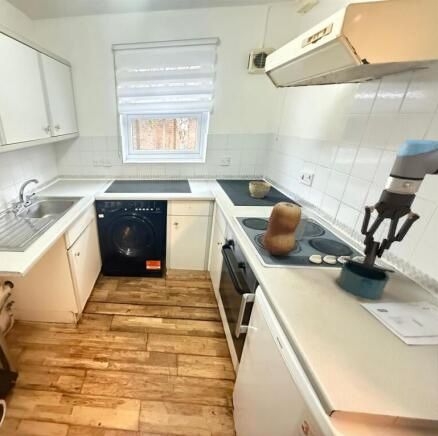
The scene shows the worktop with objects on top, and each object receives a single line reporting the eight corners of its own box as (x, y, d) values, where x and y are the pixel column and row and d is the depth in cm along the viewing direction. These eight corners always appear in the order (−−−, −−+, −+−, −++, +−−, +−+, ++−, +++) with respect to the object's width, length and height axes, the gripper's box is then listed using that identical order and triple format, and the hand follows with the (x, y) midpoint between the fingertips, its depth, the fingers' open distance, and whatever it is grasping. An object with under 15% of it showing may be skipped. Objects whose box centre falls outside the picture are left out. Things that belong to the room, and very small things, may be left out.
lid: (385, 270, 88) (393, 245, 87) (401, 277, 76) (410, 248, 75) (340, 259, 94) (347, 235, 94) (348, 263, 83) (356, 236, 82)
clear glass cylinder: (292, 241, 125) (298, 219, 120) (278, 233, 133) (283, 213, 129) (306, 238, 127) (313, 217, 123) (292, 231, 136) (297, 211, 131)
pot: (375, 282, 94) (384, 264, 90) (384, 310, 80) (394, 290, 77) (336, 271, 100) (342, 254, 97) (338, 295, 86) (345, 276, 83)
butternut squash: (294, 262, 106) (309, 210, 96) (262, 258, 110) (273, 207, 100) (286, 247, 119) (299, 200, 109) (258, 244, 122) (267, 198, 112)
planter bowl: (270, 200, 187) (273, 186, 183) (248, 198, 190) (251, 185, 186) (266, 194, 201) (268, 181, 197) (246, 193, 205) (248, 180, 200)
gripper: (368, 189, 76) (344, 252, 85) (440, 198, 68) (405, 267, 77) (365, 184, 82) (343, 244, 91) (431, 192, 74) (400, 257, 83)
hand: (371, 254), depth 84 cm, fingers closed on lid, 3 cm apart
